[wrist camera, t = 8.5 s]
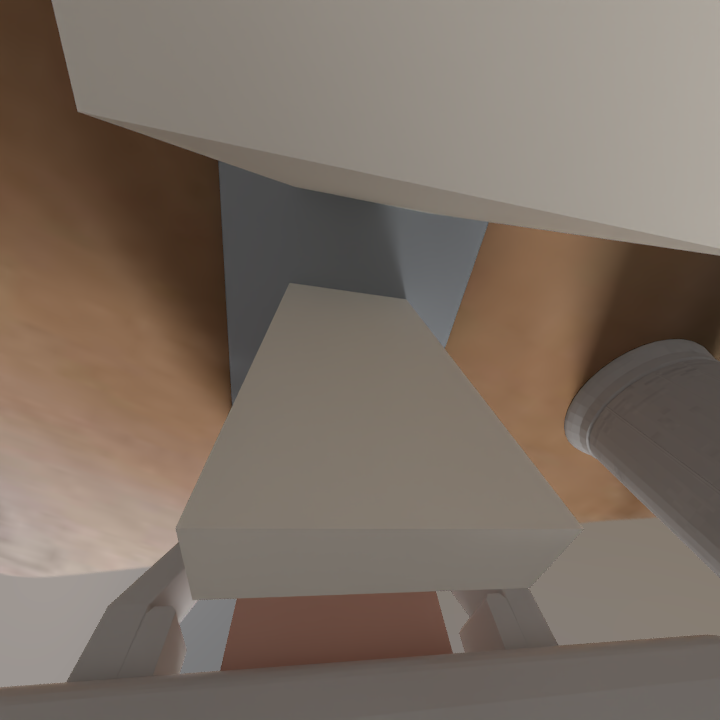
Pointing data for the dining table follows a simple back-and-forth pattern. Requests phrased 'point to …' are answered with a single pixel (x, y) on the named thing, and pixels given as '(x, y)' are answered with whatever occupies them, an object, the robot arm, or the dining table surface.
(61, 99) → the dining table surface
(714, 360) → the grey mug
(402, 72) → the domino
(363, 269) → the mat
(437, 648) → the domino
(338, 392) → the domino
